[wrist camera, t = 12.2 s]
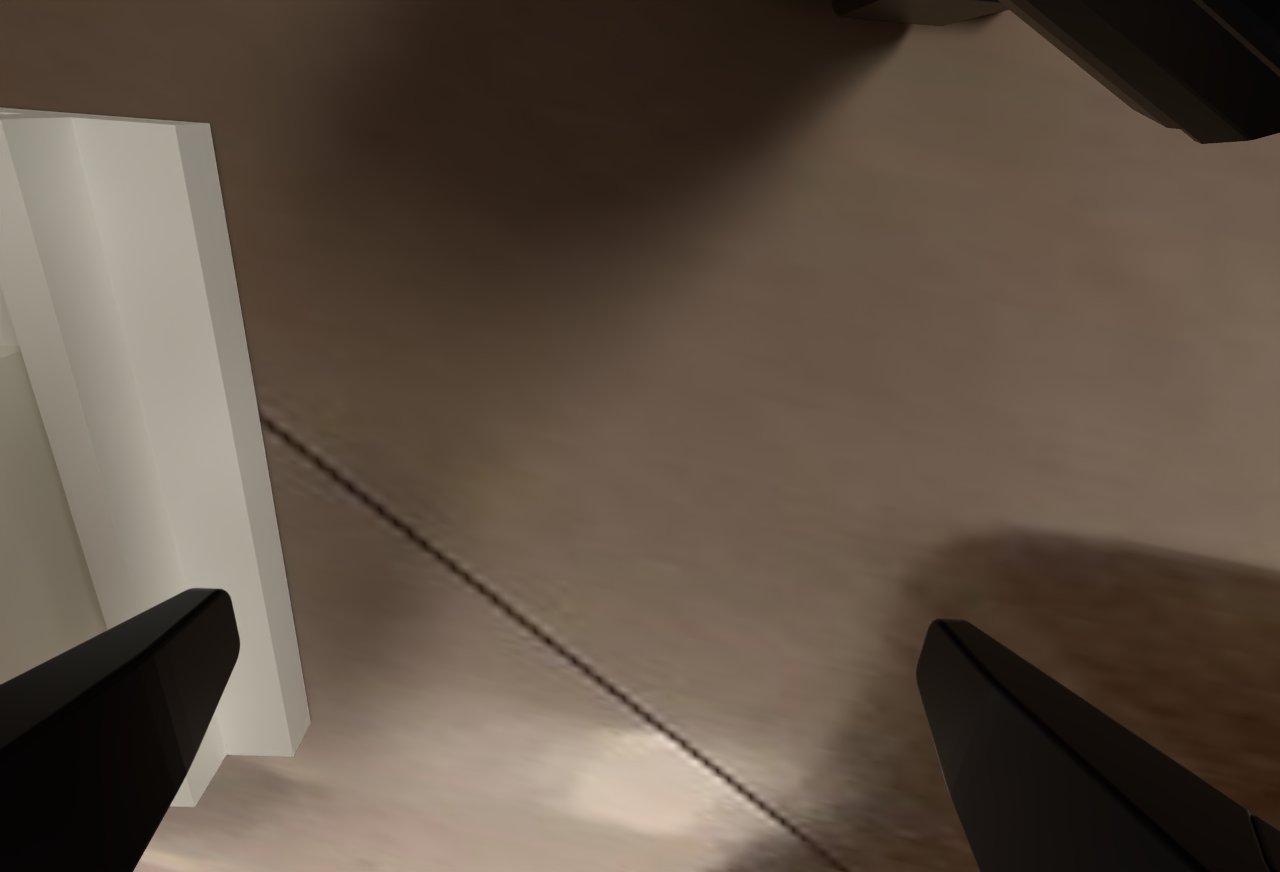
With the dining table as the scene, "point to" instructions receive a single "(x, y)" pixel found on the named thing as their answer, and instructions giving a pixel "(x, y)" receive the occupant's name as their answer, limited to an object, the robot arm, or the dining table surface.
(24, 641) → the cream carton
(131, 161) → the shelf
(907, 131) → the dining table surface
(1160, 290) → the dining table surface
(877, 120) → the dining table surface
